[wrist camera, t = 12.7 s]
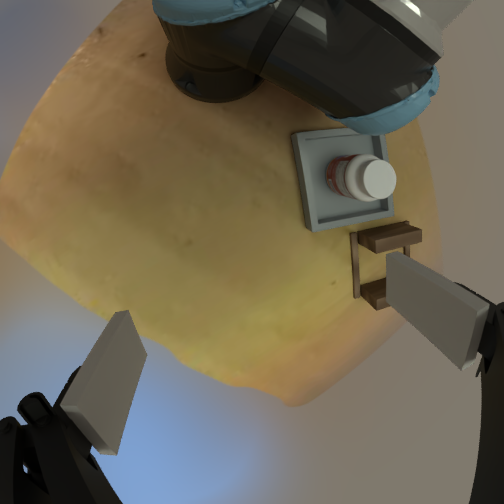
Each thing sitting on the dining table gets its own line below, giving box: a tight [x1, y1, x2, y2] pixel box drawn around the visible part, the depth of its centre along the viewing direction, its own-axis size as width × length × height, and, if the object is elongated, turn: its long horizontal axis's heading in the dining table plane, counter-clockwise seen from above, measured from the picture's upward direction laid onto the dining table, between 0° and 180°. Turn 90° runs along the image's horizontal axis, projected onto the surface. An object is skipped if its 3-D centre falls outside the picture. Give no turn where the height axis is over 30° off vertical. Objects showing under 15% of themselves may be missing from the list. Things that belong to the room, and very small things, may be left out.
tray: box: [291, 128, 394, 232], centre depth 39 cm, size 14×14×3 cm
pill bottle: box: [326, 154, 396, 202], centre depth 35 cm, size 6×6×11 cm
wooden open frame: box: [350, 221, 422, 311], centre depth 42 cm, size 12×12×6 cm
